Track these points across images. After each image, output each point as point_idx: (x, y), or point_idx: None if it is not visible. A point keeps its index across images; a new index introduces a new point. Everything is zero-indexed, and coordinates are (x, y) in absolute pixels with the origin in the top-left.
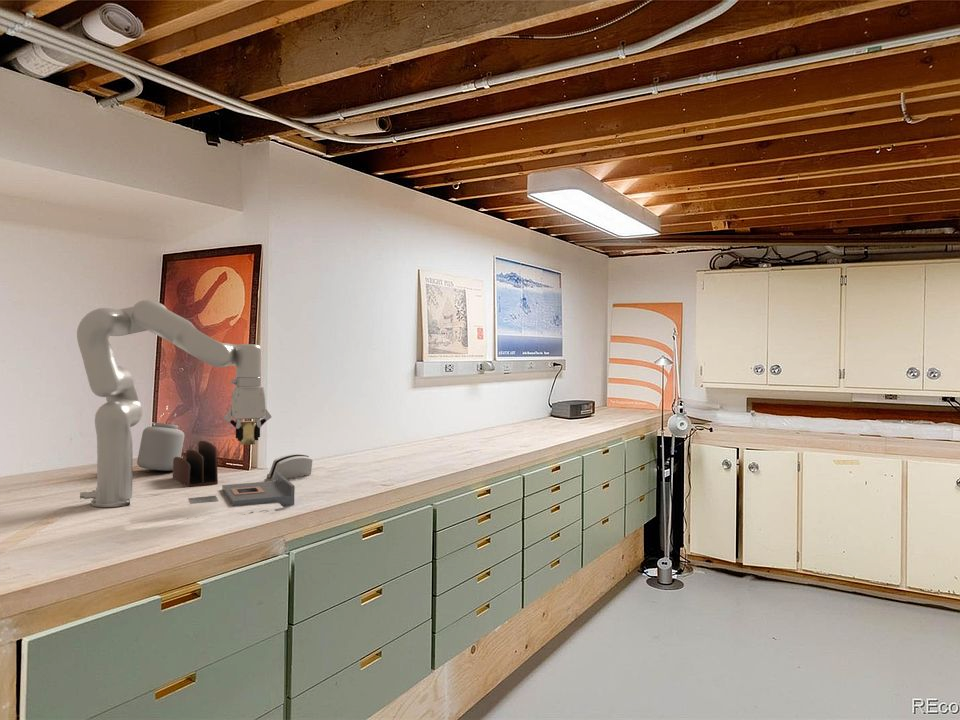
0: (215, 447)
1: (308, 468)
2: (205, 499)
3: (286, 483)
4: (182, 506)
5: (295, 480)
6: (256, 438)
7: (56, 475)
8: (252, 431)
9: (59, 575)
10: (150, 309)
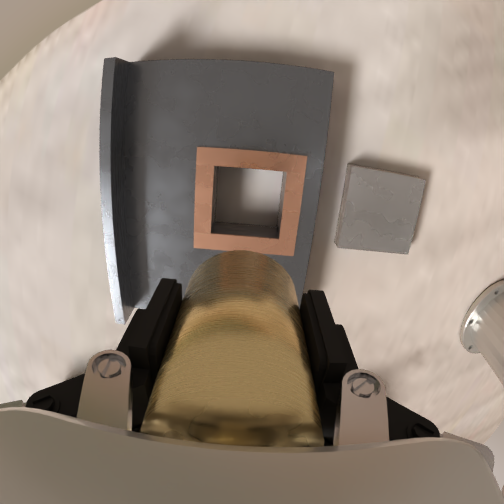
0: None
1: None
2: (378, 211)
3: (113, 138)
4: (425, 216)
5: (89, 357)
6: (173, 287)
7: None
8: (201, 319)
9: None
10: None
